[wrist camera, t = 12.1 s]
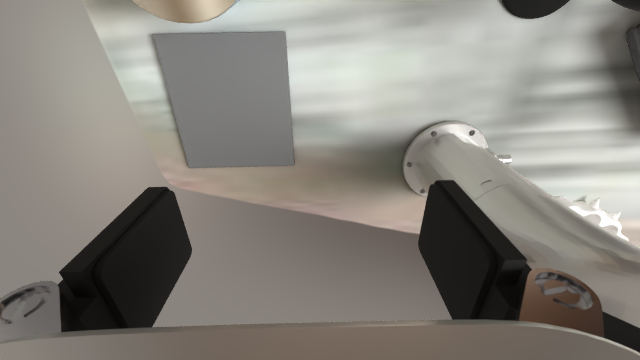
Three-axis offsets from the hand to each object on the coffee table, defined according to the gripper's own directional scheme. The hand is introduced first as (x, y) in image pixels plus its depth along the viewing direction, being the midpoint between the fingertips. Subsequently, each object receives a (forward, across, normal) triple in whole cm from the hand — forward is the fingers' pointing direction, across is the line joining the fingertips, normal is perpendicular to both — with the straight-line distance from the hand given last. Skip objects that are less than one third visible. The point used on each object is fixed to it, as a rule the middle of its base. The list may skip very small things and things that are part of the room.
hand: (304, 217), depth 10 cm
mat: (+30, +11, +3) cm, 32 cm away
